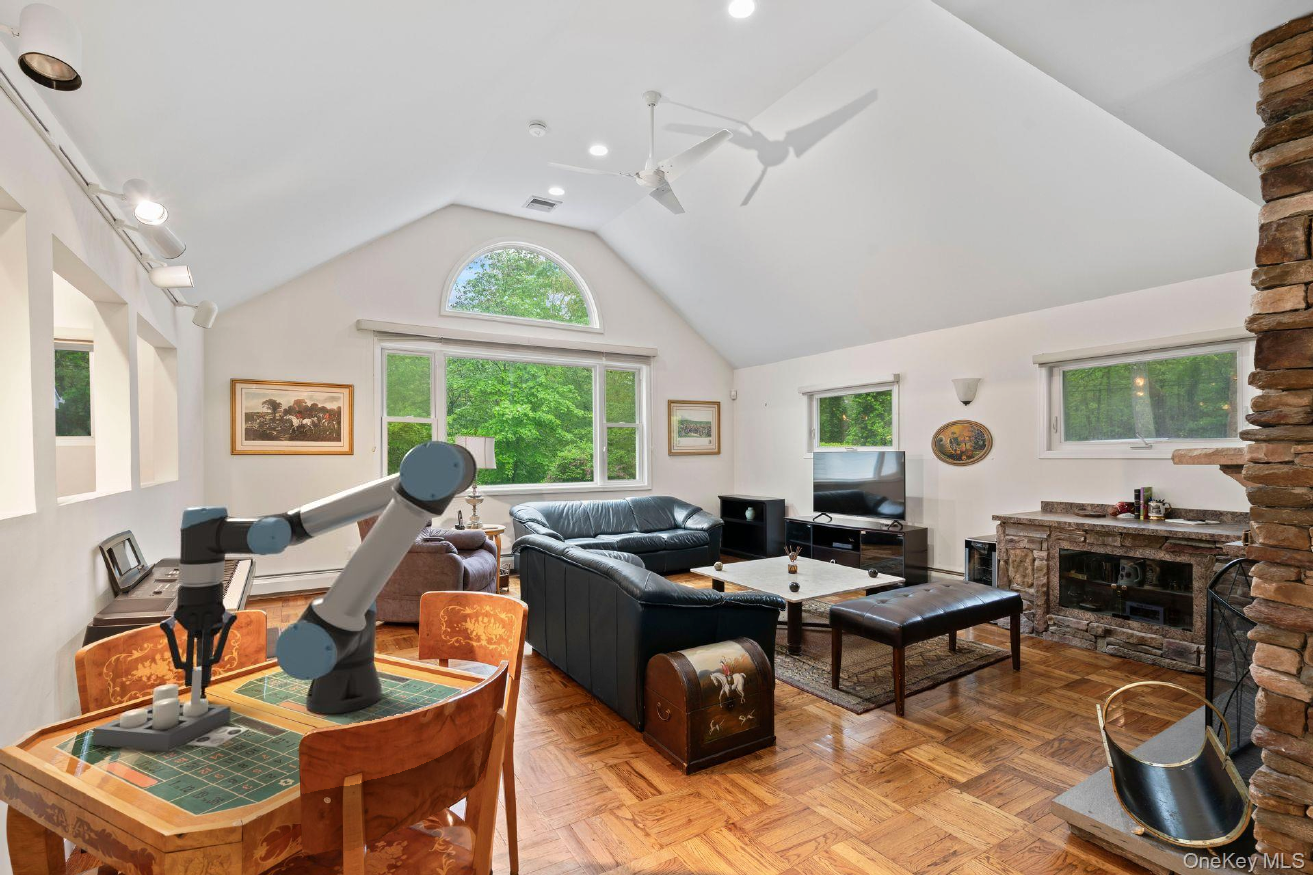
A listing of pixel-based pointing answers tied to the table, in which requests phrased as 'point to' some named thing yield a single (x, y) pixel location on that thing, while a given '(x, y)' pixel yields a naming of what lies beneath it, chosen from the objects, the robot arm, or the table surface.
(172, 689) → the button
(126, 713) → the button
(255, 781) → the table surface
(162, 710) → the button
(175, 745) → the button board
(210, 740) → the card
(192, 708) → the button
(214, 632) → the microphone
